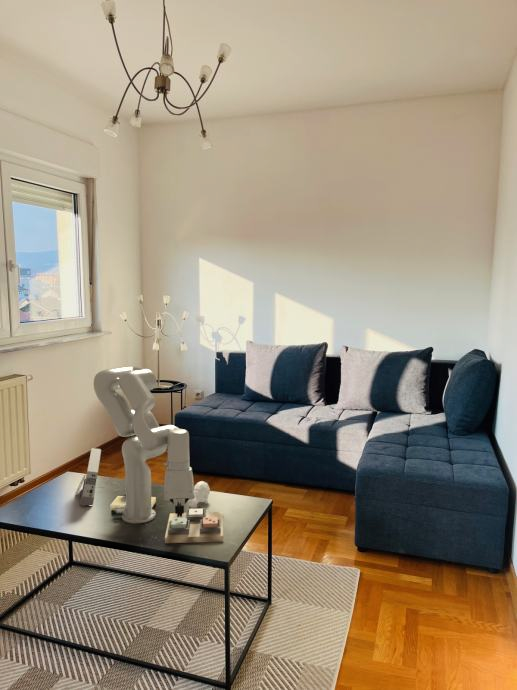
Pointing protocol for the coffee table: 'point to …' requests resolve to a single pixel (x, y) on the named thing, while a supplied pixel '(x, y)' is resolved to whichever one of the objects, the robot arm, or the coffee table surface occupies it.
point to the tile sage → (178, 523)
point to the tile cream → (196, 512)
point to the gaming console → (90, 478)
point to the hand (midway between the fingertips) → (179, 515)
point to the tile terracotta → (210, 522)
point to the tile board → (195, 529)
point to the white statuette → (199, 494)
